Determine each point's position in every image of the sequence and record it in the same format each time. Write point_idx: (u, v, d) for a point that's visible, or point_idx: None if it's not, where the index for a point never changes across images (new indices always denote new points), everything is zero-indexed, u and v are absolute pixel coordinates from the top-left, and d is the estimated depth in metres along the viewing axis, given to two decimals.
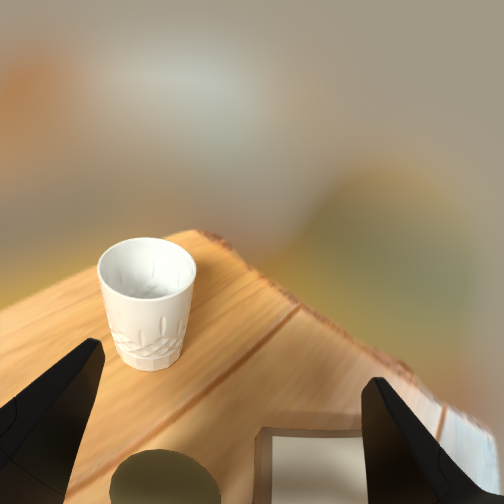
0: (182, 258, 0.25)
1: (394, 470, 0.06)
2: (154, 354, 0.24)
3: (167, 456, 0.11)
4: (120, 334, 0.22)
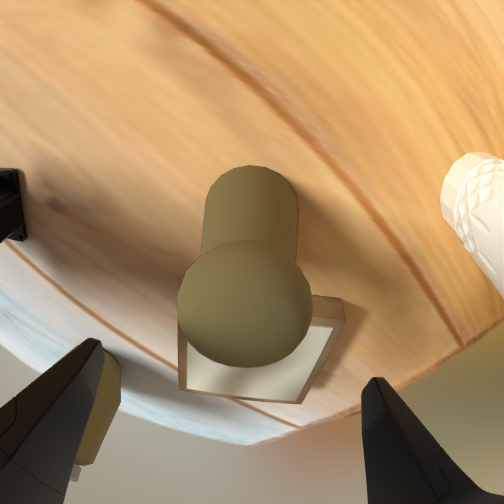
0: None
1: (394, 470, 0.06)
2: (459, 220, 0.16)
3: (296, 339, 0.10)
4: (489, 189, 0.13)
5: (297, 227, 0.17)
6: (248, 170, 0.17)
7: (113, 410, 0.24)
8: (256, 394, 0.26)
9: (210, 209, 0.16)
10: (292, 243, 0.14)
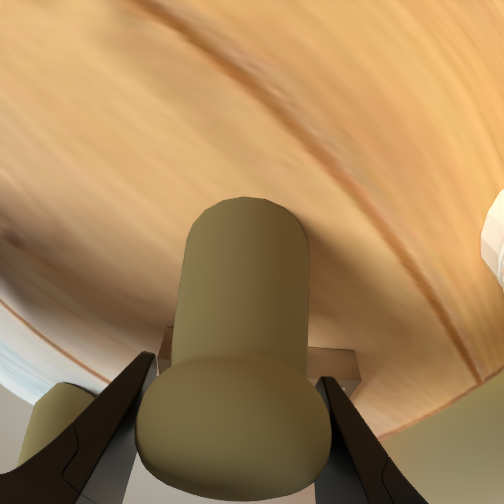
0: None
1: (336, 477, 0.06)
2: None
3: None
4: None
5: (308, 287, 0.12)
6: (242, 205, 0.13)
7: None
8: None
9: (187, 267, 0.11)
10: (303, 328, 0.09)
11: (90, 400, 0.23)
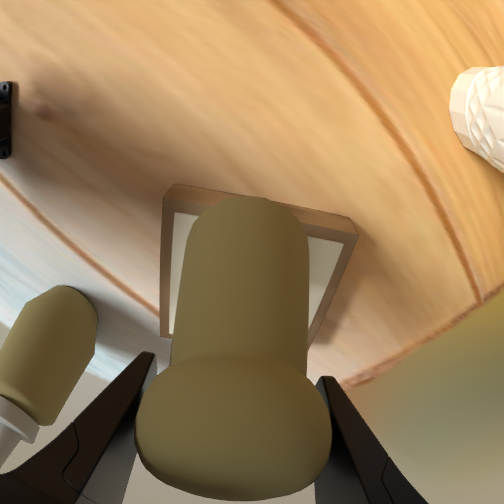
0: None
1: (336, 477, 0.06)
2: (472, 119, 0.13)
3: (306, 486, 0.06)
4: (498, 80, 0.10)
5: None
6: (242, 204, 0.13)
7: (83, 360, 0.21)
8: None
9: (187, 266, 0.11)
10: (304, 327, 0.09)
11: (83, 301, 0.24)
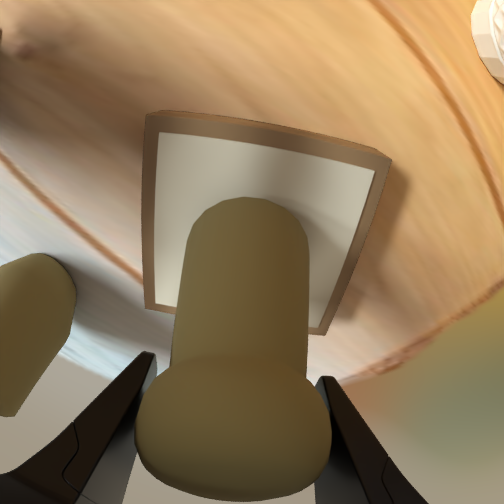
0: None
1: (336, 478, 0.06)
2: (500, 35, 0.08)
3: None
4: None
5: None
6: (242, 205, 0.13)
7: (54, 338, 0.17)
8: None
9: (187, 267, 0.11)
10: (304, 328, 0.09)
11: (59, 269, 0.20)
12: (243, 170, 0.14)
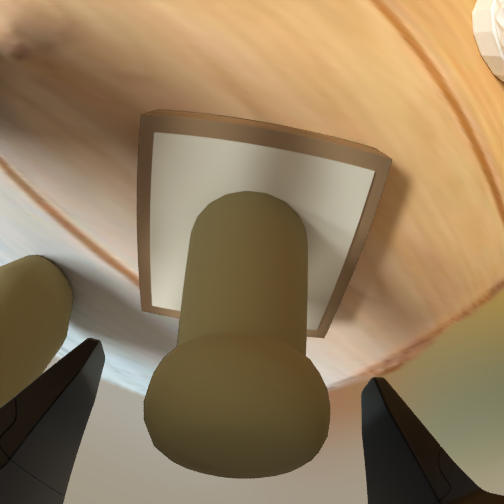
0: None
1: (394, 470, 0.06)
2: (502, 33, 0.08)
3: (306, 462, 0.07)
4: None
5: (307, 276, 0.13)
6: (244, 198, 0.13)
7: (50, 341, 0.16)
8: None
9: (193, 256, 0.12)
10: (303, 313, 0.10)
11: (55, 271, 0.19)
12: (240, 170, 0.14)
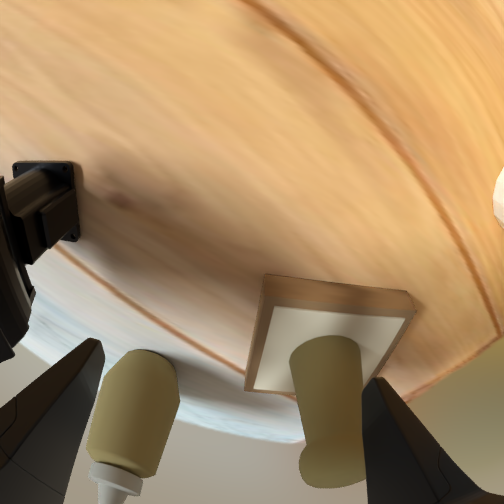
0: None
1: (394, 470, 0.06)
2: None
3: None
4: None
5: None
6: (329, 343, 0.21)
7: (174, 417, 0.25)
8: None
9: (305, 383, 0.20)
10: None
11: (165, 363, 0.27)
12: (327, 326, 0.21)
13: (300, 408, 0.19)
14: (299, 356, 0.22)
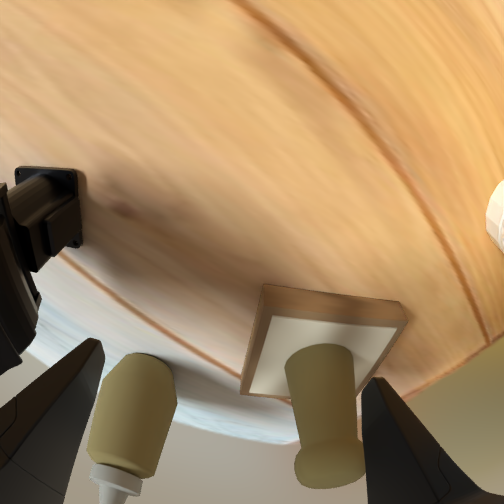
0: None
1: (394, 470, 0.06)
2: None
3: (359, 478, 0.15)
4: None
5: None
6: (324, 351, 0.22)
7: (171, 419, 0.25)
8: None
9: (300, 389, 0.21)
10: (356, 416, 0.19)
11: (163, 367, 0.28)
12: (322, 335, 0.22)
13: (295, 412, 0.20)
14: (295, 363, 0.23)
